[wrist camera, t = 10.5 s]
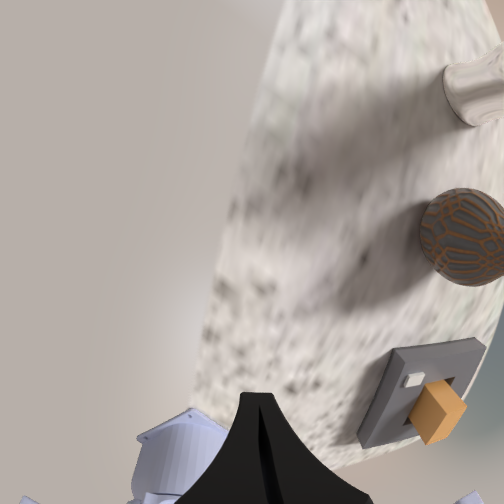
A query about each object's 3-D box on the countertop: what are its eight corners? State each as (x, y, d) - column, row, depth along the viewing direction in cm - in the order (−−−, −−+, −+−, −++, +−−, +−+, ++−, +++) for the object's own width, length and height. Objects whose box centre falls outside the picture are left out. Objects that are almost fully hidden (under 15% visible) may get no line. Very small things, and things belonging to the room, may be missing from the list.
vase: (391, 237, 19) (470, 273, 11) (433, 167, 18) (517, 170, 9) (438, 282, 20) (505, 326, 12) (474, 219, 19) (546, 240, 10)
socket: (435, 415, 25) (444, 428, 22) (356, 434, 24) (363, 451, 22) (474, 337, 22) (488, 348, 19) (393, 348, 22) (407, 365, 19)
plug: (423, 404, 24) (446, 437, 18) (402, 408, 23) (425, 445, 18) (438, 373, 22) (467, 406, 17) (418, 377, 22) (446, 413, 16)
